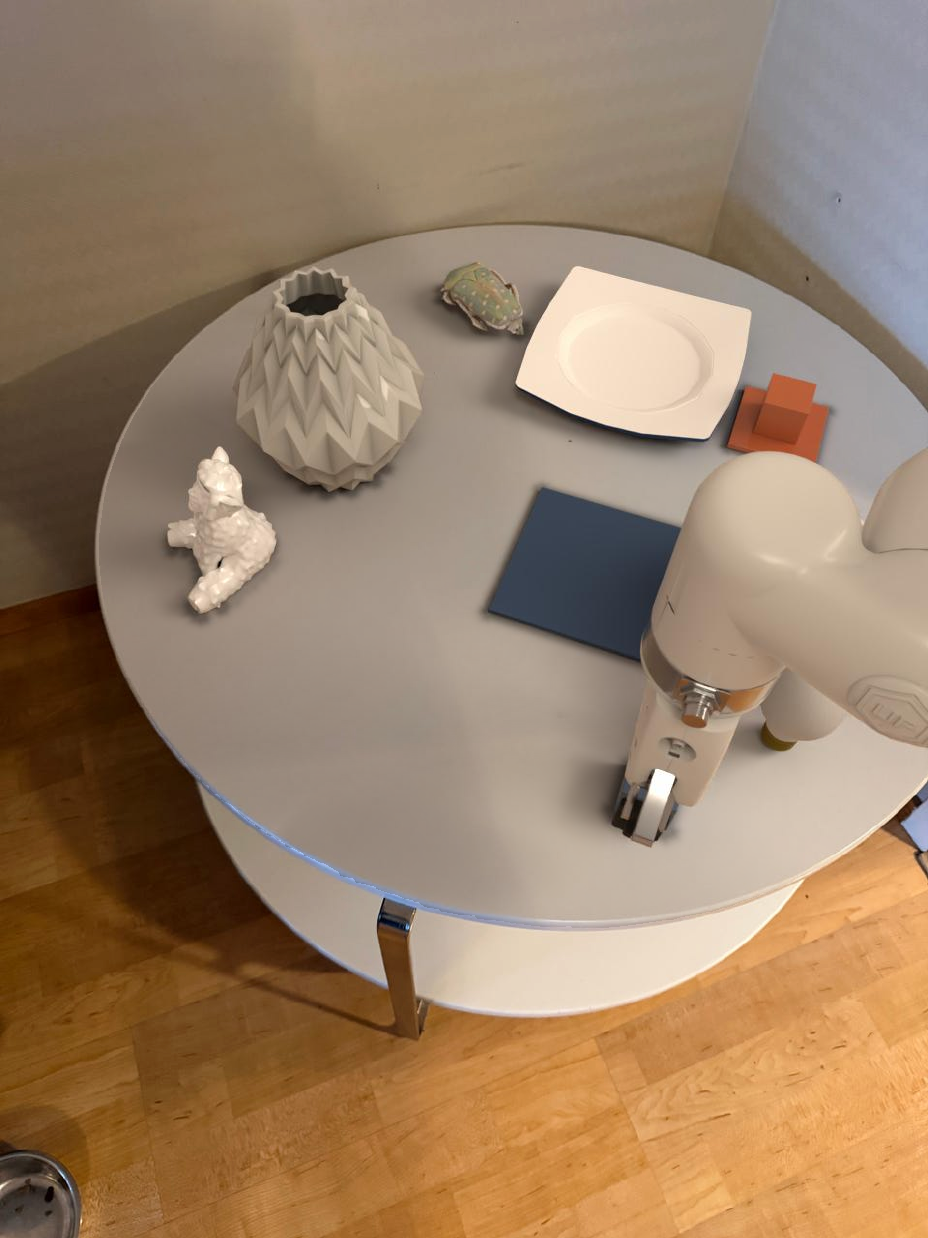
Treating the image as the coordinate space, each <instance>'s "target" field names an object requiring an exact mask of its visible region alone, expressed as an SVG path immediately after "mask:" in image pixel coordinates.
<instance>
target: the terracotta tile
mask: <svg viewBox="0 0 928 1238" xmlns="http://www.w3.org/2000/svg"><path fill="white" fill-rule="evenodd" d="M766 391H767V390H765V389H761V388H757V387H754V386H750V385H745V387H744V391H743V393H742V397H741V400H740V403H739V407H738V410H737V412H736V417H735V418H734V422H733V426H732V429H731V432H730V435H729V438H728V442H727V444H726V448H728V449H731V450H735V451H739V452H742V453H745V454H747V453H752V452H761V451H775V452H784V453H789V454H794V455H797V456H800V457H803V458H806V459H808V460H810V461H812V462H814V463H816V462H817V458H818V454H819V452H820V451H819V450H820V446H821V443H822V437H823V434H824V430H825V425H826V423H827V422H826V421H827V418H828V414H829V409H830V407H829V406H825V405H822V404H818V403H816V402H815V403H814V402H812V405H811V409H810V413H809V416H808V418H807V420H806V422H805V425H804V427H803V429H802V431H801V434H800V436H799V438H798V440H797V443H796V444H792V443H788V442H784V441H781V440H777V439H773V438H770V437H766V436H762V435H759V434H755V433H753V431H754V428H755V424H756V421H757V417H758V414H759V411H760V407H761V404H762V401H763V399H764V396H765V393H766ZM816 464H817V463H816Z"/></svg>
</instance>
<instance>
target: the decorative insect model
mask: <svg viewBox="0 0 928 1238" xmlns="http://www.w3.org/2000/svg"><path fill="white" fill-rule="evenodd" d="M441 286H442V287H441V289H440V290H439V296H440V300H442V301H443V300H444V302H445V303H447V304H449V305H452V306H454V307H456V304H455V303H457V304H458V306H459V307H460V309H462V311H463V312H464V313H466V315H467V318H469V319H470V320H471V322H472V325H473V326H475V327H476V328H478V329H480V330H482V331H484V332H488V331H489V330H488V326H489V327H491V328H493V329H496V330H505V329H506V328H507V330H508V331H509V332H511V333H512V334H513V335H514V334H516V335H518V336H521V335H524V334H525V333H524V326H523V317H522V316H523V314H524V310H523V308H522V305H521V301H520V294H519V291H518V289H517V287H516V285H515V284H513V283H512V282H509V283H508V282H506V280H505V279H504V277H503V276H502V274H501V273H499V272H498V271H496V269H492V268H489V267H488V268H487V267H485V265H484V264H482V262H479V261H475V262H473V263H470V264H468V265H463V266H460V267H457V268H455V269H452V270H450V271H449V272H448V274H447V275H446V277H445V278H444V279H443V283H442V285H441ZM487 325H488V326H487Z"/></svg>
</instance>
